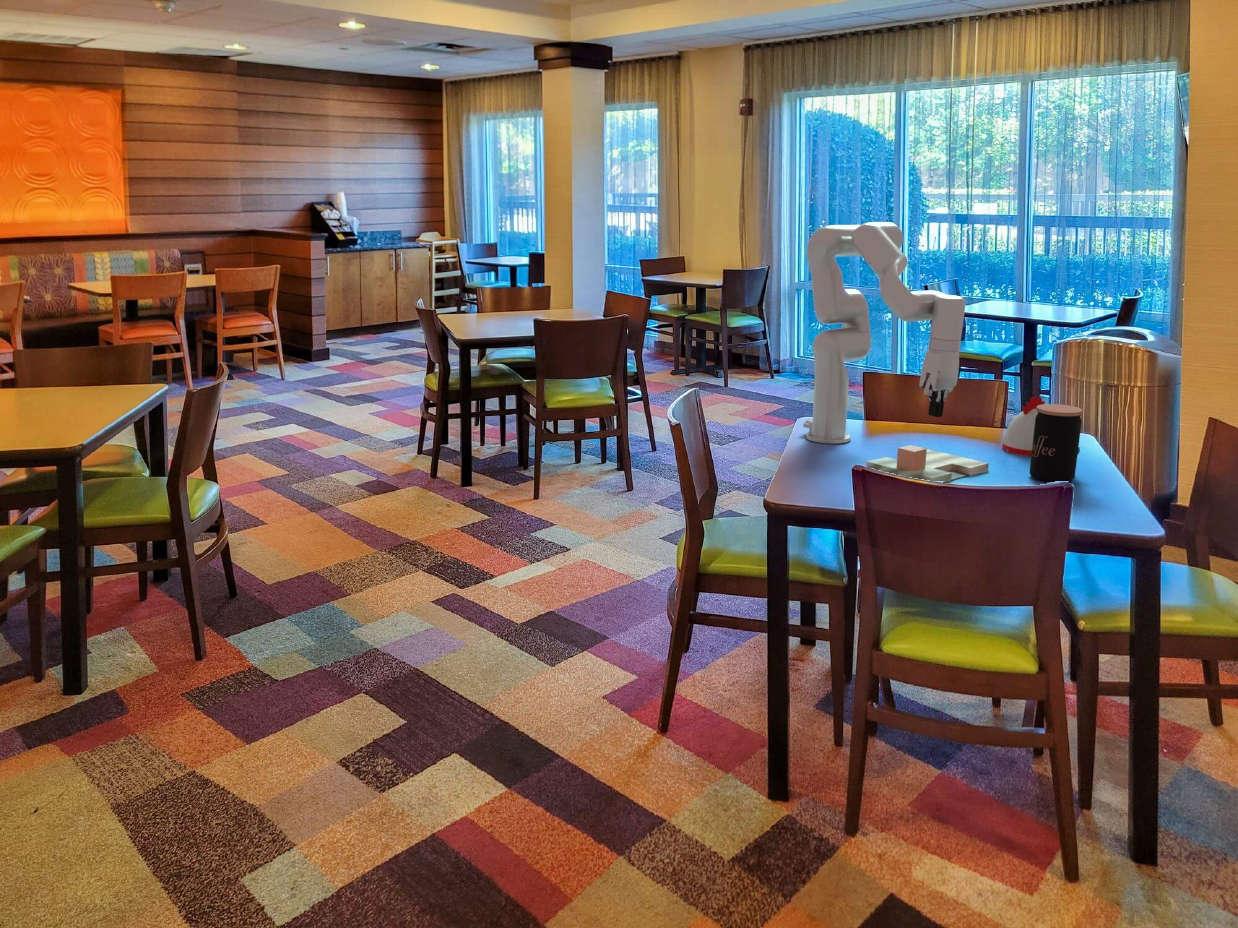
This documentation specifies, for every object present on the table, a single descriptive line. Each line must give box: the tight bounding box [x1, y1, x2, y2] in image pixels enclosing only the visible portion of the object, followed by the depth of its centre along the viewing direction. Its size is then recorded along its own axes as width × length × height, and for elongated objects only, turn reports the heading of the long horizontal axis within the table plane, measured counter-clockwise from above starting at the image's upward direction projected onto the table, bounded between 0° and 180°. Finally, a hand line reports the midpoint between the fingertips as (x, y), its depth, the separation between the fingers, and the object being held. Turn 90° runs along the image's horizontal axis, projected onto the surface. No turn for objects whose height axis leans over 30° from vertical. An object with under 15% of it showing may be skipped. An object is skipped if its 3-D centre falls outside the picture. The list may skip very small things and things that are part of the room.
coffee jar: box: [1028, 403, 1084, 484], centre depth 261 cm, size 11×11×18 cm
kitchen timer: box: [1001, 396, 1046, 457], centre depth 291 cm, size 14×14×15 cm
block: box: [896, 444, 927, 471], centre depth 264 cm, size 5×5×5 cm
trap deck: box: [865, 448, 990, 482], centre depth 270 cm, size 20×24×2 cm
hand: (935, 415), depth 270 cm, fingers closed
